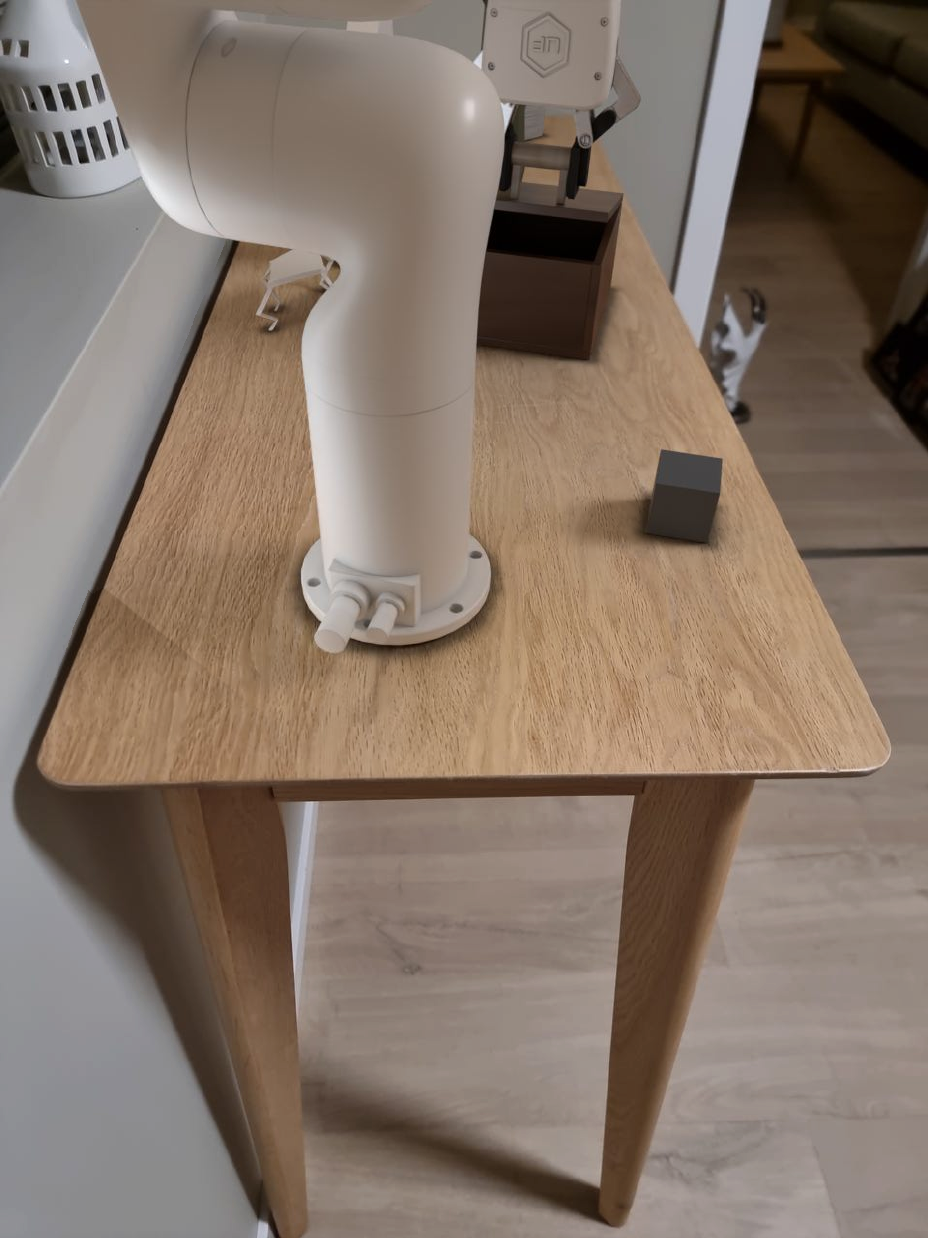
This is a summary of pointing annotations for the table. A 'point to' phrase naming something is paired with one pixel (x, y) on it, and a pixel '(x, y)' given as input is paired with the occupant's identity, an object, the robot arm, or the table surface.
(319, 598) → the robot arm
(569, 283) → the chest
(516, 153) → the lid
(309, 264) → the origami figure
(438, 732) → the table surface
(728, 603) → the table surface
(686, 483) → the block
